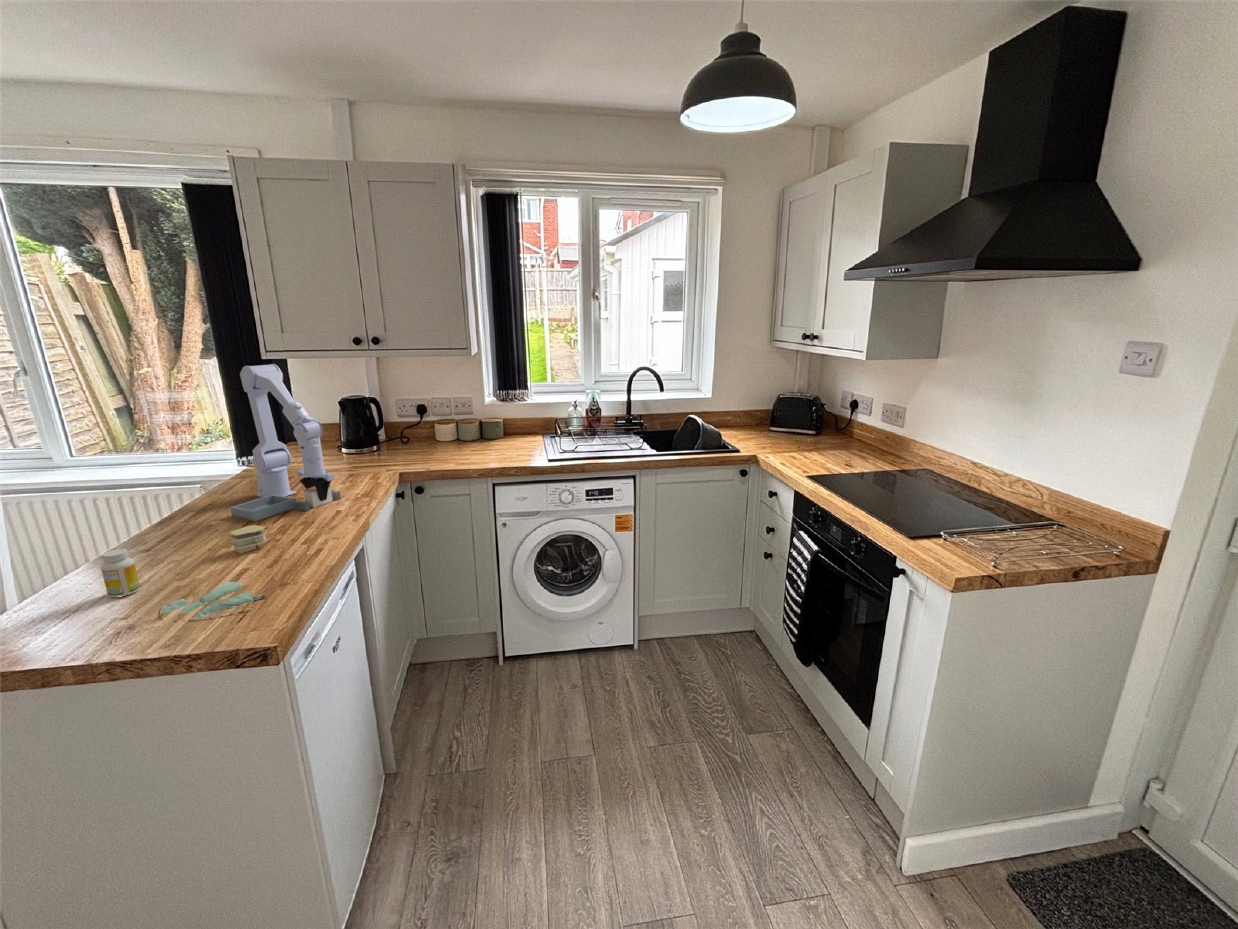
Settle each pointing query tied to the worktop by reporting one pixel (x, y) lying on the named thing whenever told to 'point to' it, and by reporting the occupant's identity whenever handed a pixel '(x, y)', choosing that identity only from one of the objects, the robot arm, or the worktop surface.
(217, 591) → the pale green flat pieces
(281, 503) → the tray
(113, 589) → the supplement bottle
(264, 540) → the beige layered stack
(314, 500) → the pink and gray block
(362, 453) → the worktop surface
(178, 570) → the worktop surface
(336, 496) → the grey blocks
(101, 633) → the worktop surface
